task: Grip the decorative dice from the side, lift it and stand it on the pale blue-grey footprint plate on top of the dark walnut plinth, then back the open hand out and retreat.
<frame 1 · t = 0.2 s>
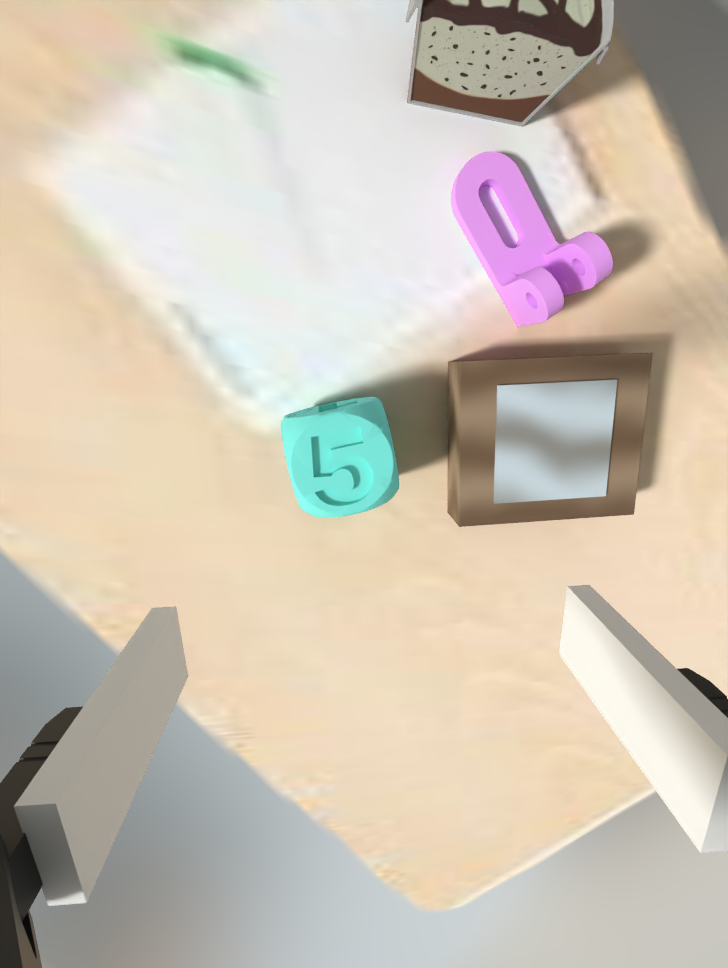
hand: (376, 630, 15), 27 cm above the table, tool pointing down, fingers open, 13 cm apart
decorative dice: (339, 446, 41), on the table
food container: (472, 70, 35), on the table
plinth: (532, 435, 42), on the table
bracket: (505, 240, 38), on the table
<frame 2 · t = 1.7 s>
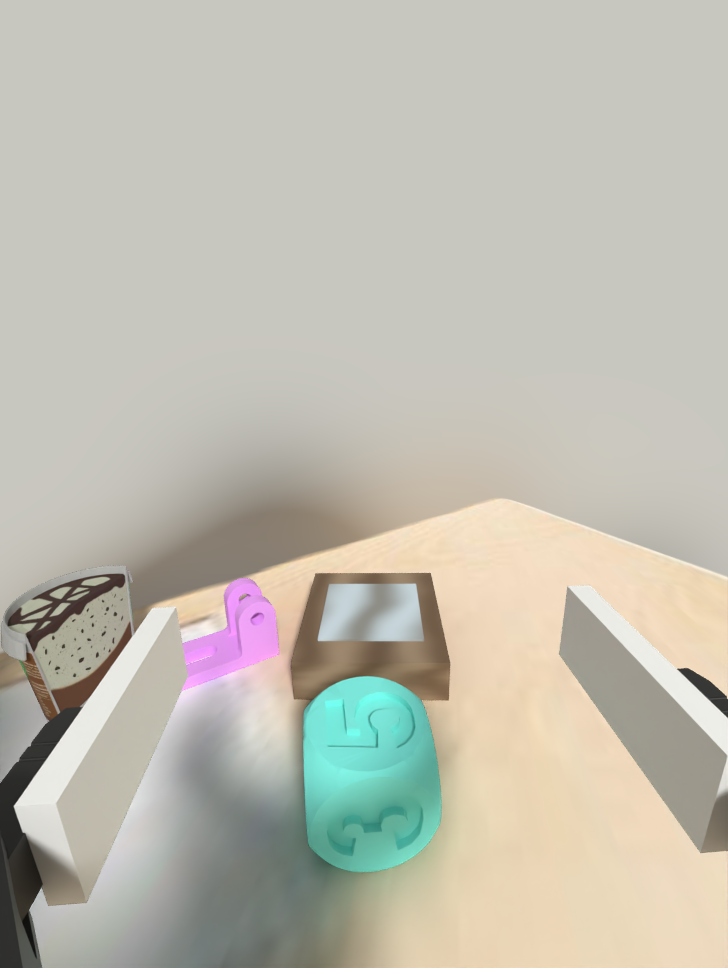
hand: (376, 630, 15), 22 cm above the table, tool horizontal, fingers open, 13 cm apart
decorative dice: (368, 811, 31), on the table
food container: (77, 684, 44), on the table
plinth: (372, 643, 49), on the table
bracket: (209, 664, 46), on the table
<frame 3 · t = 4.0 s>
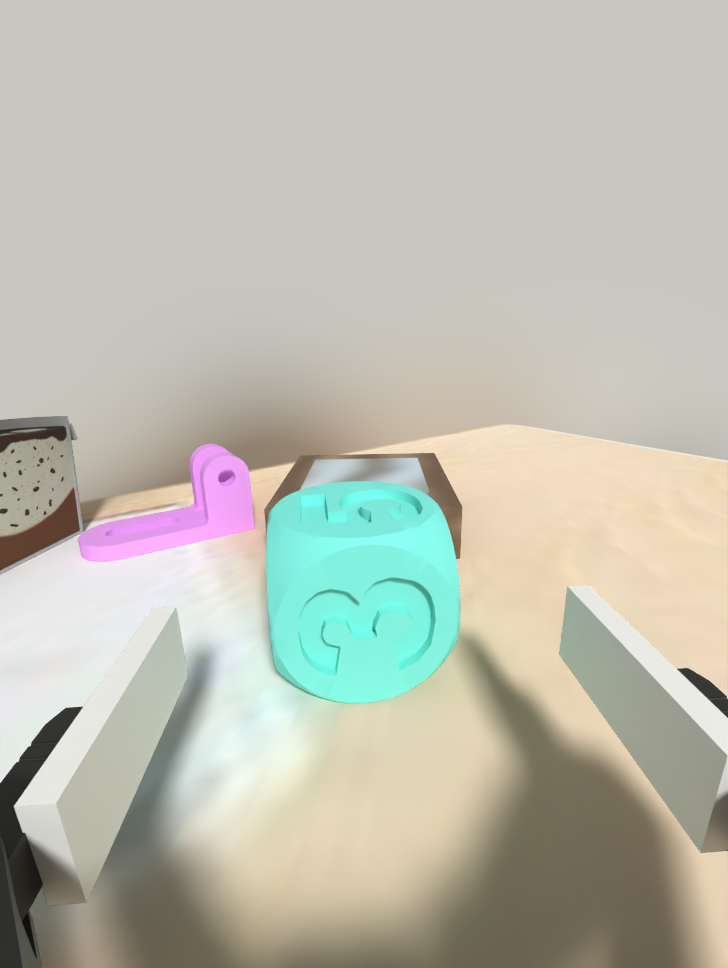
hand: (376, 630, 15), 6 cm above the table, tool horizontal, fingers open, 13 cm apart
decorative dice: (359, 651, 24), on the table
food container: (5, 555, 36), on the table
plinth: (366, 518, 41), on the table
bracket: (170, 539, 39), on the table
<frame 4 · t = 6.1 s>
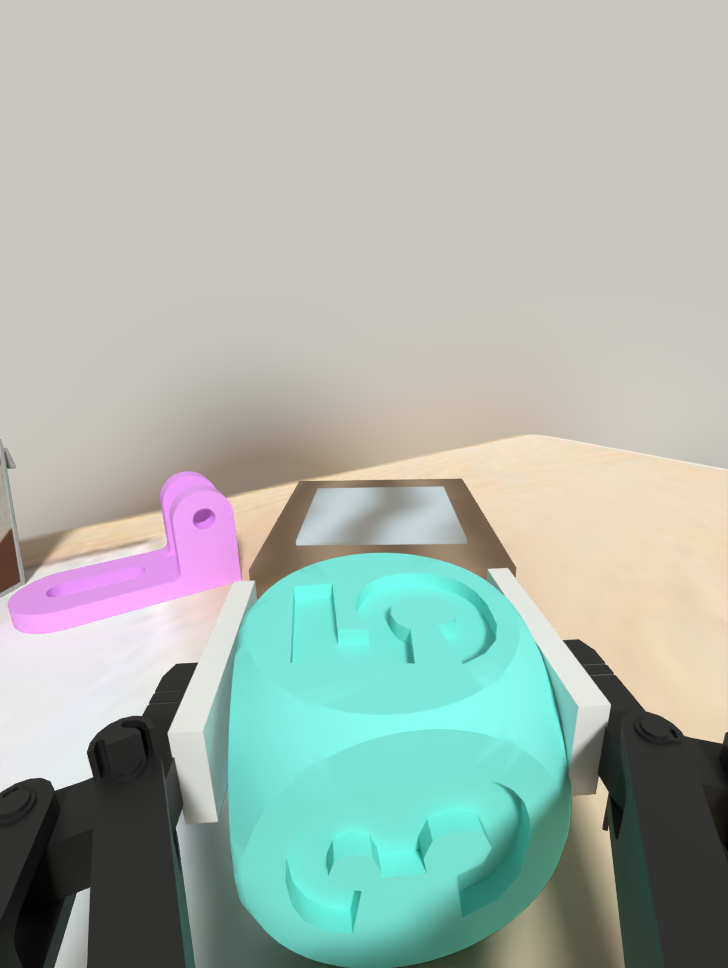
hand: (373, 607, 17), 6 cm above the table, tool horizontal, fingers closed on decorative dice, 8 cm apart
decorative dice: (384, 820, 15), on the table, touching gripper
plinth: (381, 565, 32), on the table
bracket: (134, 594, 30), on the table
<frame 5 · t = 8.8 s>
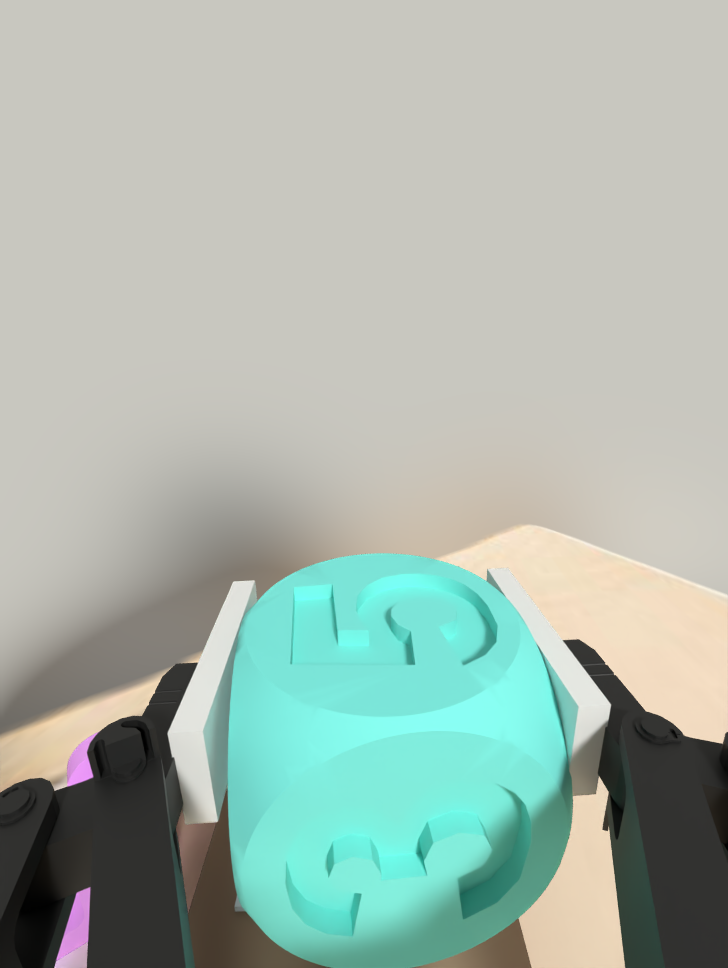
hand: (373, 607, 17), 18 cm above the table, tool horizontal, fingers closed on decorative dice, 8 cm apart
decorative dice: (384, 821, 15), point 12 cm above the table, touching gripper
plinth: (356, 850, 25), on the table
bracket: (27, 923, 23), on the table
when the fingers open (12 cm above the table, at t = 11.5 s): decorative dice drops 1 cm, resting on plinth.
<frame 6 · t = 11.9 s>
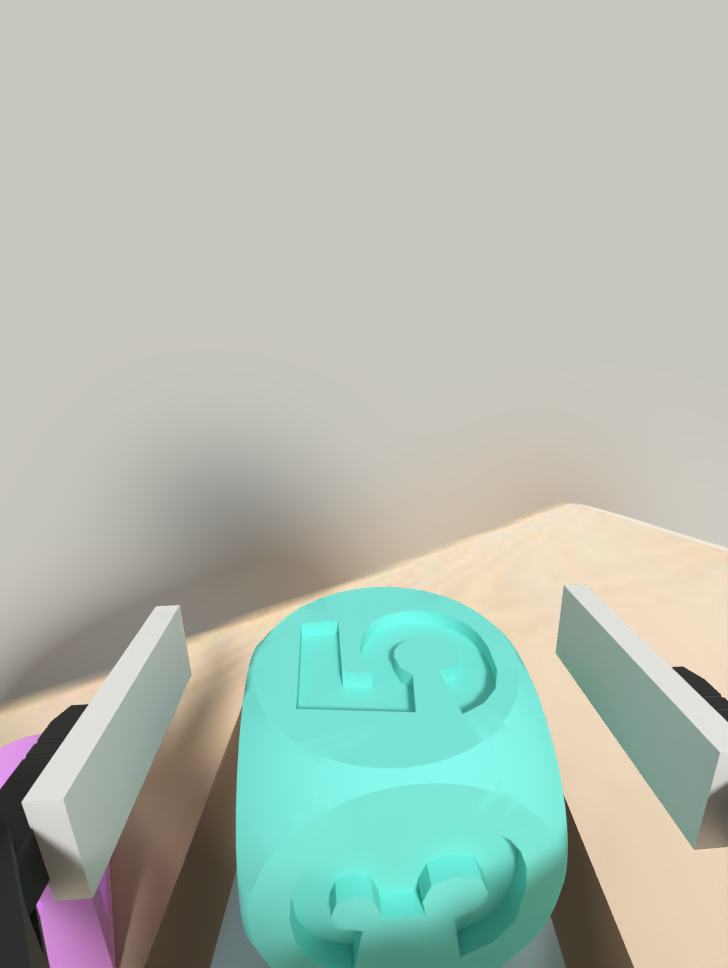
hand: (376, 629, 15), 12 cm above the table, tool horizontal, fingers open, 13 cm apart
decorative dice: (387, 850, 16), point 4 cm above the table, touching plinth
plinth: (386, 926, 17), on the table
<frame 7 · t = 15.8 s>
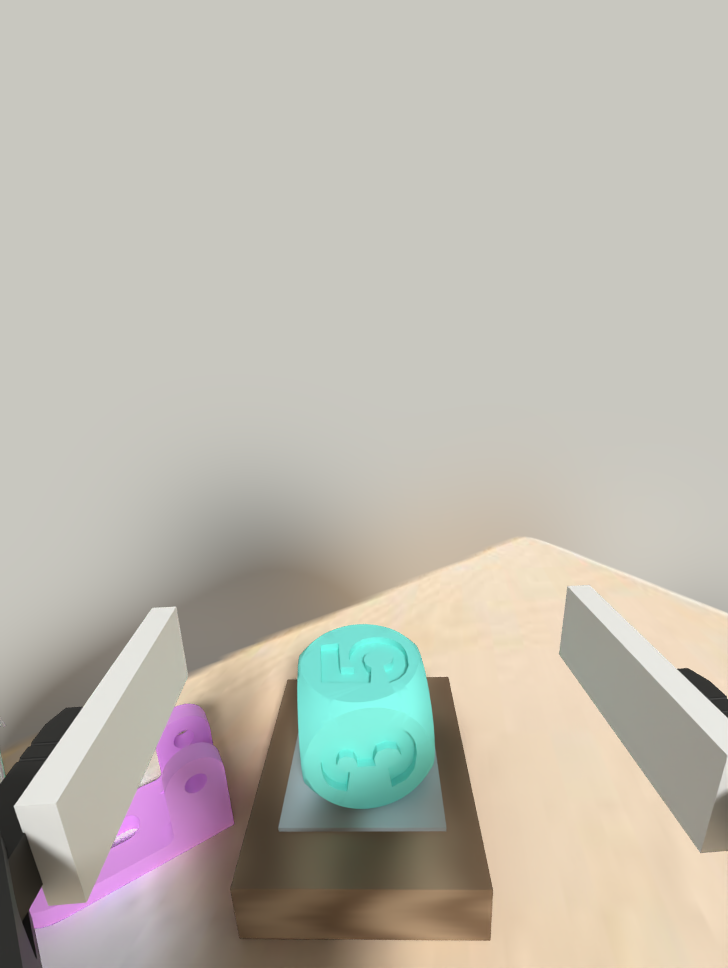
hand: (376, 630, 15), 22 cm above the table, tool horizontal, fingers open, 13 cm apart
decorative dice: (365, 757, 32), point 4 cm above the table, touching plinth
plinth: (367, 801, 33), on the table
bracket: (129, 845, 31), on the table
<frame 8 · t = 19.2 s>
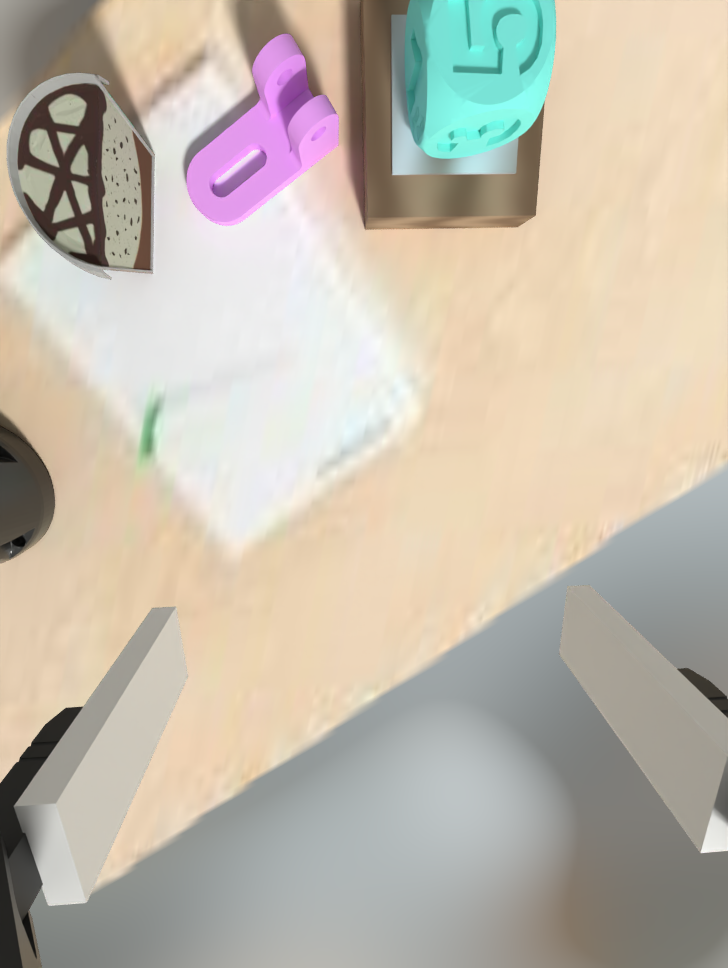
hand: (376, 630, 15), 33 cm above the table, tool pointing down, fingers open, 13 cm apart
decorative dice: (457, 99, 35), point 4 cm above the table, touching plinth
food container: (118, 210, 40), on the table
plinth: (444, 123, 39), on the table
bracket: (258, 163, 39), on the table
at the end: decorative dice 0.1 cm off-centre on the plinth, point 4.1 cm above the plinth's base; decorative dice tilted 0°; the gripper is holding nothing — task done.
